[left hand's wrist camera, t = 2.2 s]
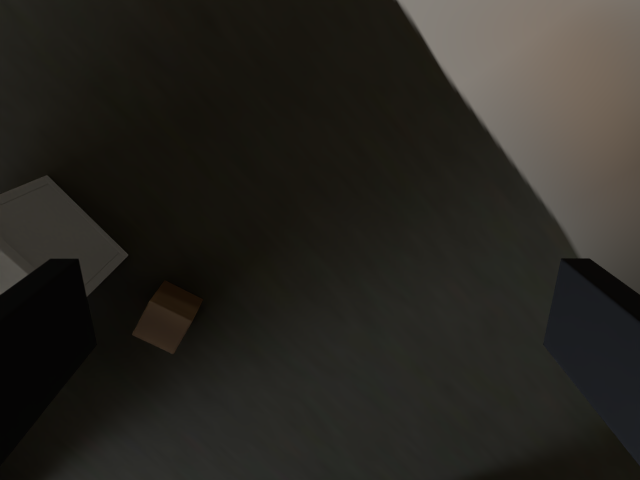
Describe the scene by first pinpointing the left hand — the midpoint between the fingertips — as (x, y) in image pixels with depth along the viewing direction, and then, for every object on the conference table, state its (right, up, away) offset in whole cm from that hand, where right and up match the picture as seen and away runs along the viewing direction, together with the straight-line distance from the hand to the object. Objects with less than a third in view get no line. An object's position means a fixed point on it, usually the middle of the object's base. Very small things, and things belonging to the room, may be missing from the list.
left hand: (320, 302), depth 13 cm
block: (-14, -5, +32) cm, 35 cm away
